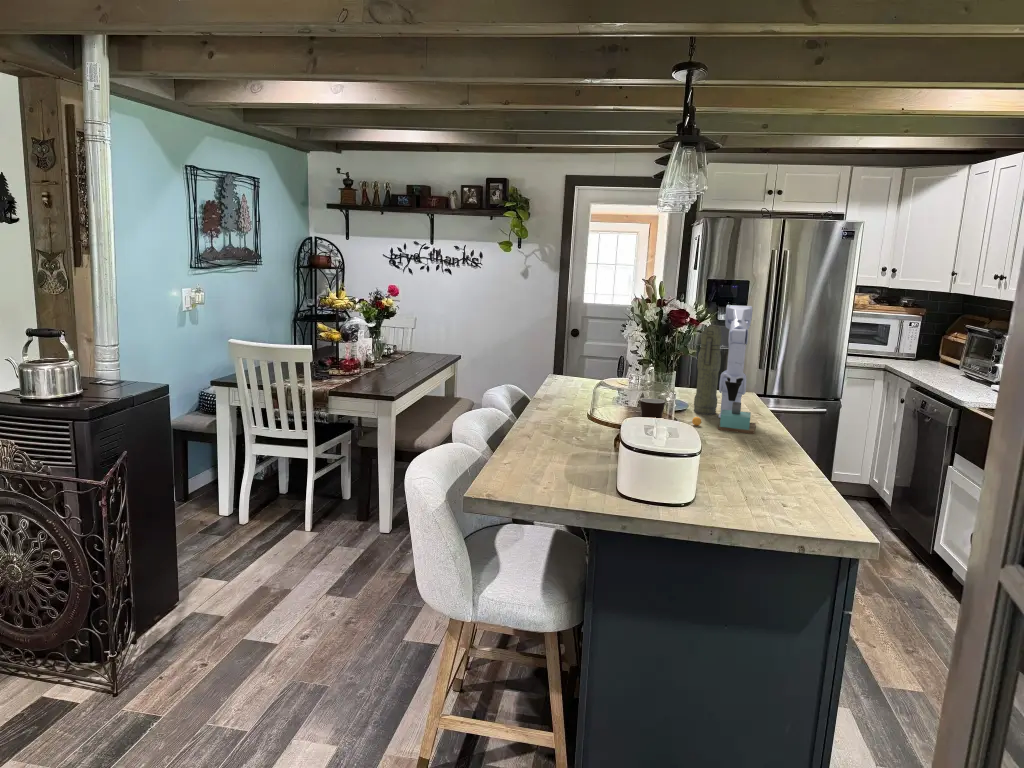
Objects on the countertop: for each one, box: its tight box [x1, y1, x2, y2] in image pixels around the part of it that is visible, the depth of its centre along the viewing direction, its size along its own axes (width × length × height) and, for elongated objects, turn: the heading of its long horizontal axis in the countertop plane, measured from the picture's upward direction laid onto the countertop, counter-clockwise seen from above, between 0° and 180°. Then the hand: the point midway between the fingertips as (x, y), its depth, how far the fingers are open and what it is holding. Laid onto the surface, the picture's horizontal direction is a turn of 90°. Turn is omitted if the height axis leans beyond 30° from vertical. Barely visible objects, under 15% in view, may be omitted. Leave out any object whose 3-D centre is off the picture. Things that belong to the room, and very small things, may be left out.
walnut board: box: [718, 422, 757, 435], centre depth 249 cm, size 14×12×1 cm
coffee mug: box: [639, 397, 666, 418], centre depth 245 cm, size 12×9×10 cm
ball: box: [691, 416, 702, 427], centre depth 250 cm, size 3×3×3 cm
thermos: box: [693, 323, 722, 415], centre depth 271 cm, size 9×12×35 cm
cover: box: [719, 402, 752, 430], centre depth 247 cm, size 10×10×8 cm
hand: (732, 399), depth 249 cm, fingers open, 7 cm apart
